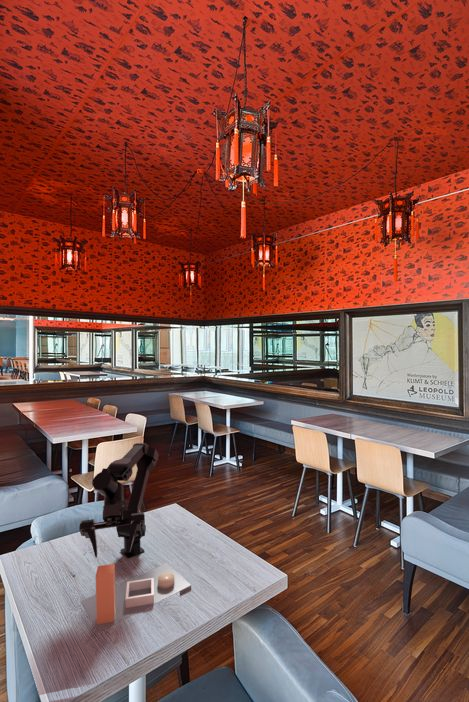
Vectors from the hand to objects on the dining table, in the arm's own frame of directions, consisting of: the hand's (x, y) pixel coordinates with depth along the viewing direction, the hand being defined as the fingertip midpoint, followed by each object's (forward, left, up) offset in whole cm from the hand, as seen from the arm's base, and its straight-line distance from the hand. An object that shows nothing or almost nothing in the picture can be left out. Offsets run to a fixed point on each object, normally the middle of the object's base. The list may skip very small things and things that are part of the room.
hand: (112, 554), depth 108 cm
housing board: (+3, +6, -14) cm, 15 cm away
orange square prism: (+6, -5, -13) cm, 15 cm away
